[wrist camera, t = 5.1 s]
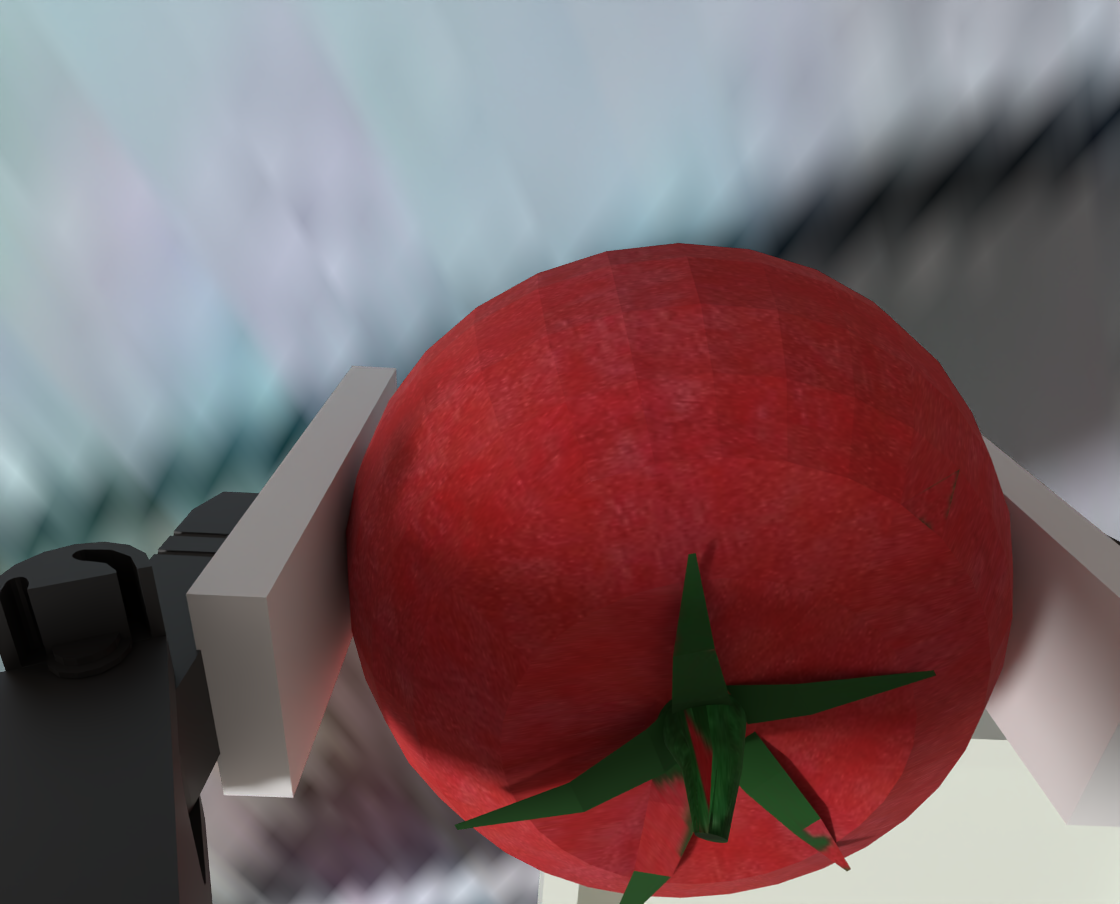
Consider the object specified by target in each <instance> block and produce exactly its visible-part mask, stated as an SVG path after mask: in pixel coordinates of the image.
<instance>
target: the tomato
mask: <svg viewBox="0 0 1120 904" xmlns="http://www.w3.org/2000/svg"><path fill="white" fill-rule="evenodd" d="M346 546H347V570H348V590H349V603H350V617H351V630H352V634H353V637H354V641H355V644H356V648H357V651H358V655H359V658H360V662H361V665H362V669H363V672H364V676H365V679H366V681H367V683H368V685H369V688H370V690H371V692H372V694H373V696H374V698H375V700H376V702H377V704H378V706H379V708H380V710H381V712H382V714H383V716H384V719H385V721H386V723H387V724H388V726H389V728H390V730H391V732H392V733H393V735H394V737H395V739H396V740H397V742H398V744H399V746H400V748H401V749H402V751H403V753H404V755H405V757H406V758H407V760H408V762H409V763H410V765H411V766H412V767H413V768H414V769H415V770H416V771H417V773H418V774H419V775H420V776H421V777H422V778H423V779H424V780H425V782H426V783H427V784H428V785H429V786H430V787H431V788H432V789H433V791H434V792H435V793H436V794H437V795H438V796H439V797H440V798H441V799H442V800H443V801H444V802H445V803H446V804H447V805H448V806H449V807H450V808H452V809H453V810H454V811H455V812H456V813H457V814H458V815H459V816H460V817H462V818H463V819H464V820H465V821H464V822H461V823H459V824H456V825H455V826H456V828H457V830H459V829H467V828H474V829H475V830H477V831H478V832H479V833H481V834H482V835H483V836H485V837H486V838H487V839H489V840H490V841H491V842H492V843H494V844H495V845H496V846H498V847H499V848H500V849H502V850H503V851H504V852H506V853H508V854H510V855H511V856H513V857H515V858H517V859H519V860H521V861H523V862H525V863H527V864H529V865H531V866H533V867H535V868H537V869H539V870H540V871H542V872H544V873H547V874H550V875H553V876H556V877H559V878H562V879H565V880H568V881H571V882H574V883H577V884H580V885H583V886H586V887H590V888H595V889H601V890H606V891H612V892H617V893H623V897H622V899H621V901H620V903H619V904H644V903H645V902H646V901H647V900H648V899H649V898H650V897H651V896H652V897H673V898H687V897H700V896H713V895H725V894H733V893H738V892H743V891H748V890H752V889H757V888H762V887H767V886H772V885H777V884H780V883H783V882H786V881H789V880H792V879H794V878H797V877H800V876H803V875H806V874H809V873H812V872H815V871H818V870H821V869H823V868H826V867H828V866H830V865H832V864H834V863H836V864H837V865H839V866H840V867H841V868H843V869H844V870H846V871H849V870H851V868H850V866H849V865H848V863H847V861H846V860H845V857H847V856H849V855H851V854H853V853H855V852H857V851H859V850H861V849H863V848H865V847H867V846H869V845H870V844H872V843H873V842H874V841H876V840H877V839H879V838H880V837H882V836H883V835H884V834H886V833H887V832H889V831H890V830H892V829H893V828H894V827H896V826H897V825H899V824H900V823H902V822H903V821H904V820H906V819H907V818H908V817H909V816H910V815H911V814H912V813H913V812H914V811H915V810H916V809H917V808H918V807H919V806H920V805H921V804H922V803H923V802H924V801H925V800H926V799H928V798H929V797H930V796H931V795H932V794H933V793H934V792H935V791H936V790H937V789H938V788H939V787H940V785H941V784H942V783H943V781H944V780H945V778H946V777H947V776H948V774H949V773H950V771H951V770H952V769H953V767H954V766H955V764H956V763H957V762H958V760H959V759H960V757H961V756H962V755H963V753H964V752H965V750H966V748H967V746H968V744H969V742H970V740H971V738H972V736H973V733H974V731H975V729H976V727H977V725H978V723H979V721H980V718H981V716H982V714H983V712H984V710H985V707H986V705H987V703H988V701H989V698H990V696H991V694H992V691H993V689H994V687H995V685H996V682H997V680H998V678H999V675H1000V673H1001V671H1002V669H1003V666H1004V661H1005V655H1006V650H1007V645H1008V639H1009V634H1010V628H1011V623H1012V618H1013V557H1012V542H1011V527H1010V513H1009V510H1008V507H1007V504H1006V501H1005V498H1004V495H1003V492H1002V489H1001V486H1000V483H999V480H998V477H997V474H996V471H995V468H994V465H993V462H992V459H991V457H990V454H989V452H988V450H987V447H986V445H985V442H984V440H983V438H982V435H981V433H980V431H979V428H978V426H977V424H976V421H975V419H974V416H973V414H972V412H971V410H970V409H969V407H968V406H967V404H966V403H965V401H964V400H963V398H962V397H961V395H960V394H959V392H958V391H957V389H956V387H955V386H954V384H953V383H952V381H951V380H950V378H949V377H948V375H947V374H946V372H945V371H944V369H943V367H942V366H941V364H940V363H939V362H938V361H937V360H936V359H935V358H934V357H933V356H932V355H931V354H930V353H929V352H928V351H927V350H925V349H924V348H923V347H922V346H921V345H920V344H919V343H918V342H917V341H916V340H915V339H914V338H913V337H911V336H910V335H909V334H908V333H907V332H906V331H905V330H904V329H903V328H902V327H901V326H900V325H899V324H897V323H896V322H895V321H894V320H893V319H892V318H891V317H890V316H889V315H888V314H886V313H885V312H884V311H883V310H882V309H881V308H880V307H879V306H877V305H876V304H875V303H874V302H873V301H871V300H869V299H867V298H866V297H864V296H862V295H860V294H858V293H857V292H855V291H853V290H851V289H850V288H848V287H846V286H844V285H843V284H841V283H839V282H837V281H835V280H834V279H832V278H830V277H828V276H827V275H825V274H823V273H821V272H820V271H818V270H816V269H813V268H809V267H806V266H803V265H800V264H796V263H793V262H790V261H786V260H783V259H780V258H777V257H773V256H770V255H767V254H763V253H760V252H757V251H754V250H750V249H740V248H728V247H717V246H705V245H694V244H682V243H676V244H667V245H658V246H649V247H640V248H632V249H623V250H614V251H606V252H603V253H600V254H597V255H593V256H590V257H587V258H584V259H581V260H578V261H575V262H572V263H569V264H565V265H562V266H559V267H556V268H553V269H550V270H547V271H544V272H540V273H537V274H536V275H534V276H532V277H530V278H529V279H527V280H525V281H523V282H521V283H520V284H518V285H516V286H514V287H512V288H511V289H509V290H507V291H505V292H503V293H502V294H500V295H498V296H496V297H494V298H493V299H491V300H489V301H487V302H486V303H484V304H482V305H480V306H478V307H477V308H475V309H474V310H473V311H472V312H471V313H470V314H468V315H467V316H466V317H465V318H464V319H463V320H462V321H460V322H459V323H458V324H457V325H456V326H455V327H453V328H452V329H451V330H450V331H449V332H448V333H447V334H445V335H444V336H443V337H442V338H441V339H440V340H438V341H437V342H436V343H435V344H434V345H433V346H431V347H430V348H429V349H428V350H427V351H426V352H425V353H424V355H423V356H422V357H421V359H420V360H419V361H418V363H417V364H416V365H415V367H414V368H413V369H412V371H411V372H410V373H409V375H408V376H407V377H406V379H405V380H404V381H403V383H402V384H401V385H400V387H399V388H398V389H397V391H396V392H395V393H394V395H393V396H392V397H391V399H390V400H389V401H388V404H387V406H386V408H385V410H384V413H383V415H382V417H381V419H380V421H379V424H378V426H377V428H376V430H375V432H374V435H373V437H372V439H371V441H370V443H369V446H368V448H367V450H366V452H365V455H364V457H363V460H362V463H361V466H360V468H359V471H358V474H357V477H356V482H355V488H354V493H353V498H352V503H351V508H350V513H349V518H348V523H347V528H346Z"/></svg>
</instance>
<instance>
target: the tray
mask: <svg viewBox="0 0 1120 904" xmlns="http://www.w3.org/2000/svg"><path fill="white" fill-rule="evenodd" d="M845 860H846V861H847V863H848V865H849V866H850V868H851V870H849V871H846V870H844V869H843V868H841V867H840V866H839V865H837V864H836V863H834V864H832V865H830V866H828V867H826V868H823V869H821V870H818V871H815V872H812V873H809V874H806V875H803V876H800V877H797V878H794V879H792V880H789V881H786V882H783V883H780V884H777V885H772V886H767V887H762V888H757V889H752V890H748V891H743V892H738V893H733V894H725V895H713V896H700V897H687V898H673V897H652V896H651V897H650V898H649V899H648V900H647V901H646V902H645V903H644V904H1120V827H1110V826H1082V825H1066V823H1065V822H1064V820H1063V819H1062V818H1061V816H1060V815H1059V813H1058V812H1057V810H1056V809H1055V807H1054V806H1053V805H1052V803H1051V802H1050V800H1049V799H1048V797H1047V796H1046V795H1045V793H1044V792H1043V790H1042V789H1041V787H1040V786H1039V785H1038V783H1037V782H1036V780H1035V779H1034V777H1033V776H1032V775H1031V773H1030V772H1029V770H1028V769H1027V767H1026V766H1025V764H1024V763H1023V762H1022V760H1021V759H1020V757H1019V756H1018V754H1017V753H1016V752H1015V750H1014V749H1013V747H1012V746H1011V744H1010V743H1009V742H1008V740H1007V739H1006V737H1005V736H1004V734H1003V733H1002V731H1001V730H1000V729H999V727H998V726H997V724H996V723H995V721H994V720H993V719H992V717H991V716H990V714H989V713H988V711H987V710H986V709H985V710H984V712H983V714H982V716H981V718H980V721H979V723H978V725H977V727H976V729H975V731H974V733H973V736H972V738H971V740H970V742H969V744H968V746H967V748H966V750H965V752H964V753H963V755H962V756H961V757H960V759H959V760H958V762H957V763H956V764H955V766H954V767H953V769H952V770H951V771H950V773H949V774H948V776H947V777H946V778H945V780H944V781H943V783H942V784H941V785H940V787H939V788H938V789H937V790H936V791H935V792H934V793H933V794H932V795H931V796H930V797H929V798H928V799H926V800H925V801H924V802H923V803H922V804H921V805H920V806H919V807H918V808H917V809H916V810H915V811H914V812H913V813H912V814H911V815H910V816H909V817H908V818H907V819H906V820H904V821H903V822H902V823H900V824H899V825H897V826H896V827H894V828H893V829H892V830H890V831H889V832H887V833H886V834H884V835H883V836H882V837H880V838H879V839H877V840H876V841H874V842H873V843H872V844H870V845H869V846H867V847H865V848H863V849H861V850H859V851H857V852H855V853H853V854H851V855H849V856H847V857H845ZM622 897H623V893H617V892H612V891H606V890H601V889H595V888H590V887H586V886H583V885H580V884H577V883H574V882H571V881H568V880H565V879H562V878H559V877H556V876H553V875H550V874H547V873H544V872H542V871H540V877H539V890H538V904H619V903H620V901H621V899H622Z"/></svg>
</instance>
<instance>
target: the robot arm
mask: <svg viewBox="0 0 1120 904" xmlns="http://www.w3.org/2000/svg"><path fill="white" fill-rule="evenodd" d="M396 391H397V381H396V368H381V367H363V366H352V367H351V368H350V370H349V371H348V372H347V374H346V375H345V377H344V378H343V379H342V381H341V382H340V383H339V385H338V386H337V388H336V389H335V390H334V392H333V393H332V394H331V396H330V397H329V398H328V400H327V401H326V403H325V404H324V405H323V407H322V408H321V409H320V411H319V412H318V414H317V415H316V416H315V418H314V419H313V420H312V422H311V423H310V425H309V426H308V427H307V429H306V430H305V431H304V433H303V434H302V435H301V437H300V438H299V440H298V441H297V442H296V444H295V445H294V446H293V448H292V449H291V451H290V452H289V453H288V455H287V456H286V457H285V459H284V460H283V462H282V463H281V464H280V466H279V467H278V468H277V470H276V471H275V472H274V474H273V475H272V477H271V478H270V479H269V481H268V482H267V483H266V485H265V486H264V488H263V489H262V490H261V492H260V493H241V492H222V493H220V494H219V495H217V496H215V497H214V498H212V499H210V500H208V501H207V502H205V503H203V504H201V505H200V506H198V507H196V508H194V509H193V510H192V511H191V512H190V513H189V514H188V516H187V517H186V518H185V519H184V520H183V521H182V523H181V524H180V525H179V526H178V527H177V528H176V530H175V531H174V536H169V538H168V539H167V540H166V541H165V542H164V543H163V545H162V546H161V547H160V548H159V549H158V554H154V555H153V556H152V557H151V559H150V560H149V559H148V557H147V555H146V553H144V552H142V551H140V550H138V549H136V548H134V547H132V546H130V545H126V544H118V543H110V542H97V543H85V544H74V545H70V546H66V547H62V548H58V549H55V550H51V551H47V552H43V553H41V554H39V555H36V556H34V557H32V558H29V559H27V560H25V561H23V562H20V563H18V564H16V565H14V566H13V567H11V568H10V569H9V570H7V571H6V572H4V573H3V574H2V575H0V655H1V658H2V661H3V664H4V667H5V670H6V671H4V672H0V904H212V894H211V882H210V871H209V859H208V848H207V837H206V825H205V817H204V812H203V807H202V802H201V798H200V793H201V791H202V789H203V787H204V785H205V783H206V781H207V779H208V777H209V775H210V773H211V771H212V769H213V767H214V765H215V763H216V761H217V760H218V766H219V771H220V776H221V781H222V787H223V792H224V795H237V796H265V797H293V796H294V794H295V791H296V788H297V786H298V783H299V780H300V777H301V775H302V772H303V769H304V766H305V764H306V761H307V758H308V756H309V753H310V750H311V747H312V745H313V742H314V739H315V737H316V734H317V731H318V728H319V726H320V723H321V720H322V718H323V715H324V712H325V709H326V707H327V704H328V701H329V699H330V696H331V693H332V690H333V688H334V685H335V682H336V680H337V677H338V674H339V671H340V669H341V666H342V663H343V661H344V658H345V655H346V652H347V650H348V647H349V644H350V642H351V639H352V636H353V634H352V630H351V617H350V603H349V590H348V570H347V546H346V528H347V523H348V518H349V513H350V508H351V503H352V498H353V493H354V488H355V482H356V477H357V474H358V471H359V468H360V466H361V463H362V460H363V457H364V455H365V452H366V450H367V448H368V446H369V443H370V441H371V439H372V437H373V435H374V432H375V430H376V428H377V426H378V424H379V421H380V419H381V417H382V415H383V413H384V410H385V408H386V406H387V404H388V401H389V400H390V399H391V397H392V396H393V395H394V393H395V392H396ZM981 435H982V434H981ZM982 438H983V440H984V442H985V445H986V447H987V450H988V452H989V454H990V457H991V459H992V462H993V465H994V468H995V471H996V474H997V477H998V480H999V483H1000V486H1001V489H1002V492H1003V495H1004V498H1005V501H1006V504H1007V507H1008V510H1009V513H1010V527H1011V542H1012V557H1013V618H1012V623H1011V628H1010V634H1009V639H1008V645H1007V650H1006V655H1005V661H1004V666H1003V669H1002V671H1001V673H1000V675H999V678H998V680H997V682H996V685H995V687H994V689H993V691H992V694H991V696H990V698H989V701H988V703H987V705H986V707H985V709H986V710H987V711H988V713H989V714H990V716H991V717H992V719H993V720H994V721H995V723H996V724H997V726H998V727H999V729H1000V730H1001V731H1002V733H1003V734H1004V736H1005V737H1006V739H1007V740H1008V742H1009V743H1010V744H1011V746H1012V747H1013V749H1014V750H1015V752H1016V753H1017V754H1018V756H1019V757H1020V759H1021V760H1022V762H1023V763H1024V764H1025V766H1026V767H1027V769H1028V770H1029V772H1030V773H1031V775H1032V776H1033V777H1034V779H1035V780H1036V782H1037V783H1038V785H1039V786H1040V787H1041V789H1042V790H1043V792H1044V793H1045V795H1046V796H1047V797H1048V799H1049V800H1050V802H1051V803H1052V805H1053V806H1054V807H1055V809H1056V810H1057V812H1058V813H1059V815H1060V816H1061V818H1062V819H1063V820H1064V822H1065V823H1066V825H1082V826H1110V827H1120V542H1119V541H1117V540H1115V539H1114V538H1112V537H1110V536H1108V535H1106V534H1105V533H1103V532H1102V531H1101V530H1100V529H1098V528H1097V527H1096V526H1095V525H1093V524H1092V523H1091V522H1090V521H1088V520H1087V519H1086V518H1085V517H1084V516H1082V515H1081V514H1080V513H1079V512H1077V511H1076V510H1075V509H1074V508H1072V507H1071V506H1070V505H1069V504H1067V503H1066V502H1065V501H1064V500H1062V499H1061V498H1060V497H1059V496H1057V495H1056V494H1055V493H1054V492H1053V491H1051V490H1050V489H1049V488H1048V487H1046V486H1045V485H1044V484H1043V483H1041V482H1040V481H1039V480H1038V479H1036V478H1035V477H1034V476H1033V475H1031V474H1030V473H1029V472H1028V471H1026V470H1025V469H1024V468H1023V467H1021V466H1020V465H1019V464H1018V463H1017V462H1015V461H1014V460H1013V459H1012V458H1010V457H1009V456H1008V455H1007V454H1005V453H1004V452H1003V451H1002V450H1000V449H999V448H998V447H997V446H995V445H994V444H993V443H992V442H990V441H989V440H988V439H987V438H985V437H984V436H983V435H982Z"/></svg>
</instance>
